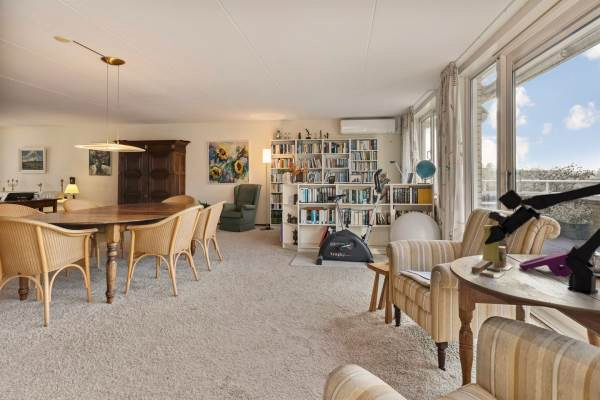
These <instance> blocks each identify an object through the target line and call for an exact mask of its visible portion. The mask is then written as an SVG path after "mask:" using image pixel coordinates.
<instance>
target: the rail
mask: <svg viewBox="0 0 600 400" xmlns="http://www.w3.org/2000/svg"><path fill="white" fill-rule="evenodd" d="M511 267H512V268H514V265H510V264H509V265H508V264H507V254H506V247H505V246H499V261H495V262H493V261H486V260H483V259H482V260H481V261H479V262H477V263H476V264H474V265H473V266H471V273H472V274H475V275H477V276H479V277H482V278H488V279H500V278H501V277H502V276H504V275H505V272H501V270H502V271H506V270H508V271H510V270H511V269H512V268H511ZM510 268H511V269H510ZM509 269H510V270H509Z"/></svg>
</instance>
